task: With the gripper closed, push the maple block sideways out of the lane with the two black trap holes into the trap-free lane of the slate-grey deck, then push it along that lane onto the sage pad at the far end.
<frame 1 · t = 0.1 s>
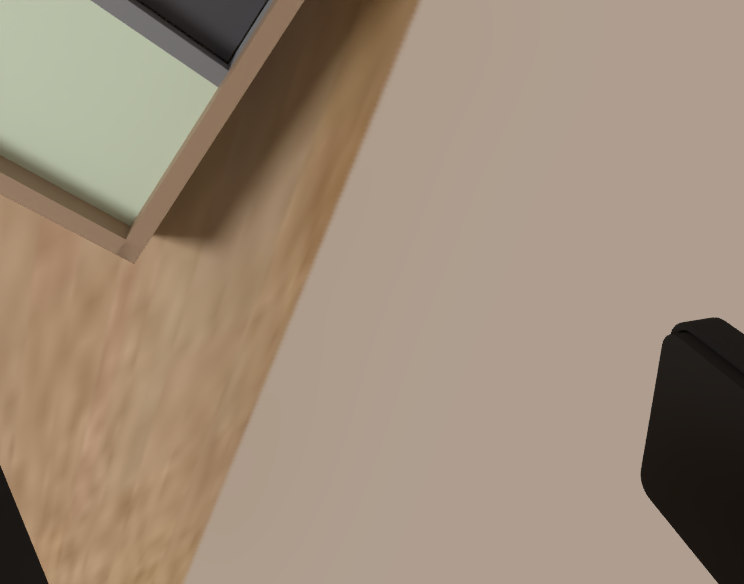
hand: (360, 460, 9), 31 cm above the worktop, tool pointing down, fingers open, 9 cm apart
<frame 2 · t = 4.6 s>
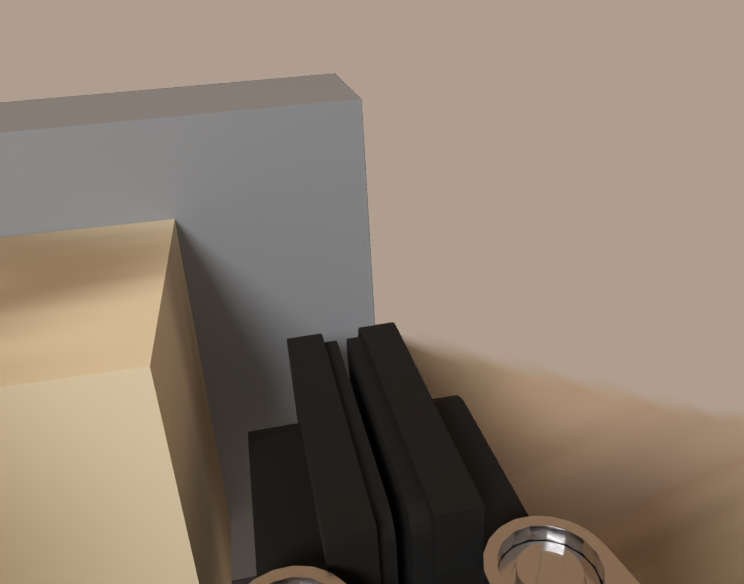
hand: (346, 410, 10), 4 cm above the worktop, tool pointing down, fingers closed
block: (12, 417, 10), point 3 cm above the worktop, touching gripper
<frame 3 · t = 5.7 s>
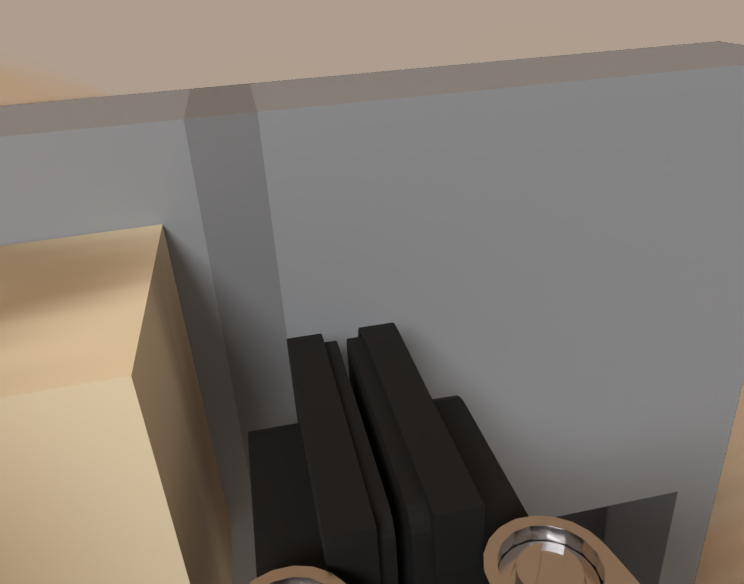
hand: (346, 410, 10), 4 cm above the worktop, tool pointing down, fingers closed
block: (8, 427, 10), point 3 cm above the worktop
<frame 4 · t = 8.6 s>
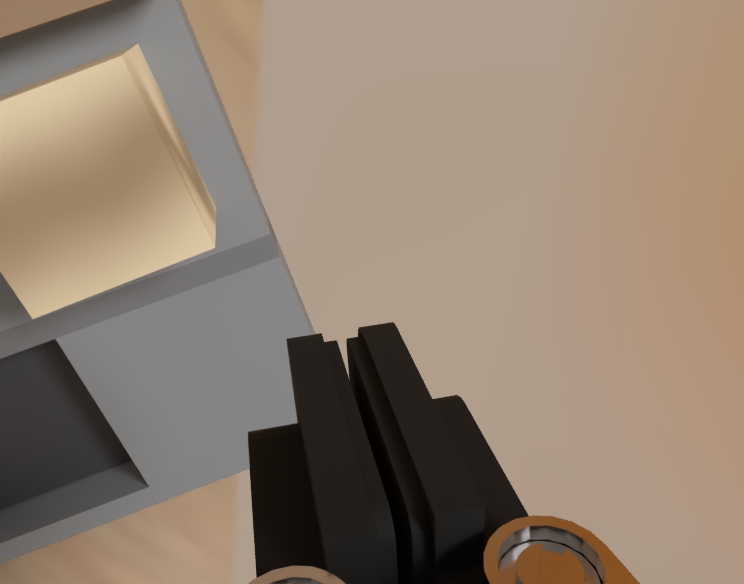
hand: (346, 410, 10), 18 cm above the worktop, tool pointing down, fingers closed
block: (97, 162, 22), point 2 cm above the worktop, touching trap deck
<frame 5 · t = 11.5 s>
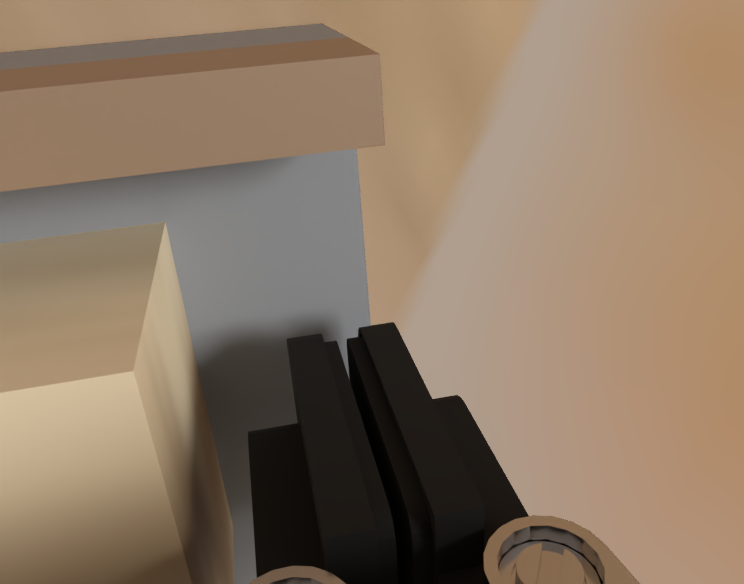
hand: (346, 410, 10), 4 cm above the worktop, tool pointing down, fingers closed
block: (10, 425, 10), point 2 cm above the worktop, touching gripper, trap deck
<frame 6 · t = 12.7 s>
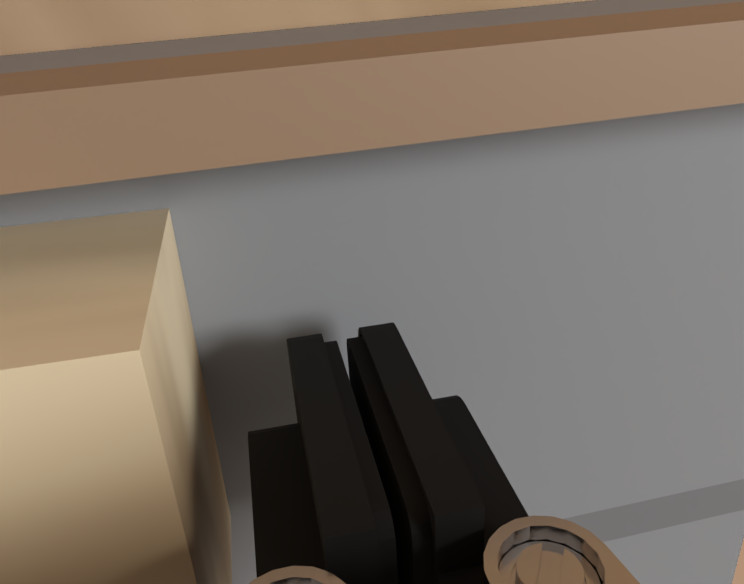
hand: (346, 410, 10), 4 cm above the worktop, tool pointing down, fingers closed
block: (9, 411, 10), point 3 cm above the worktop, touching gripper
trap deck: (131, 521, 15), on the worktop
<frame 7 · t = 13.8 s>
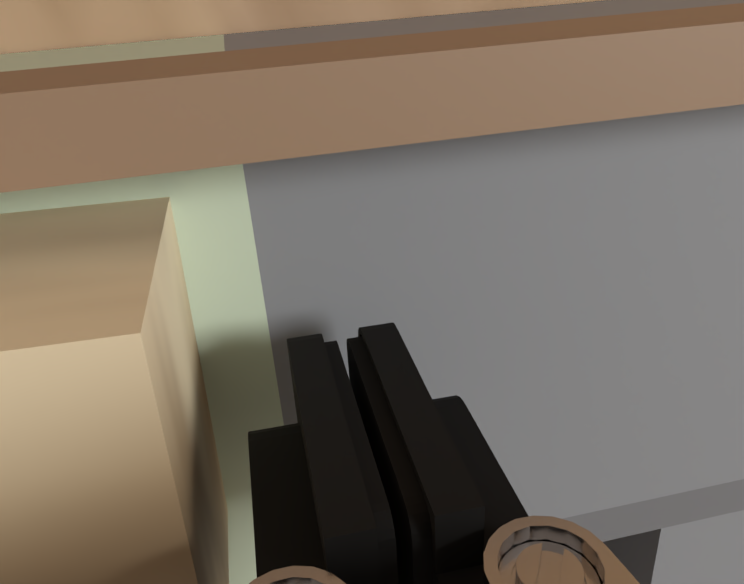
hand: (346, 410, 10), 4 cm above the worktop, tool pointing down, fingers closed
block: (6, 400, 10), point 3 cm above the worktop, touching gripper
trap deck: (418, 463, 16), on the worktop
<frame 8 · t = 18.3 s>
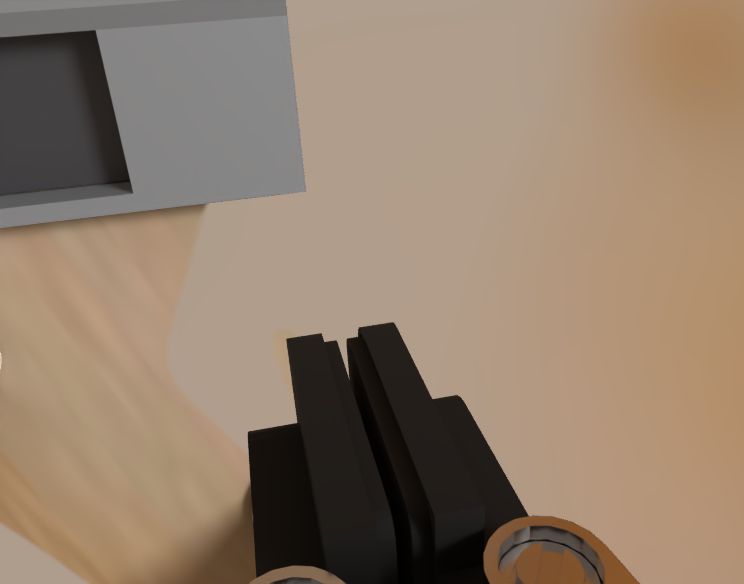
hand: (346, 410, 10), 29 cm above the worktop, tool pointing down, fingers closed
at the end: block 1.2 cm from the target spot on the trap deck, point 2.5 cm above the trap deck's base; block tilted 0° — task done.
